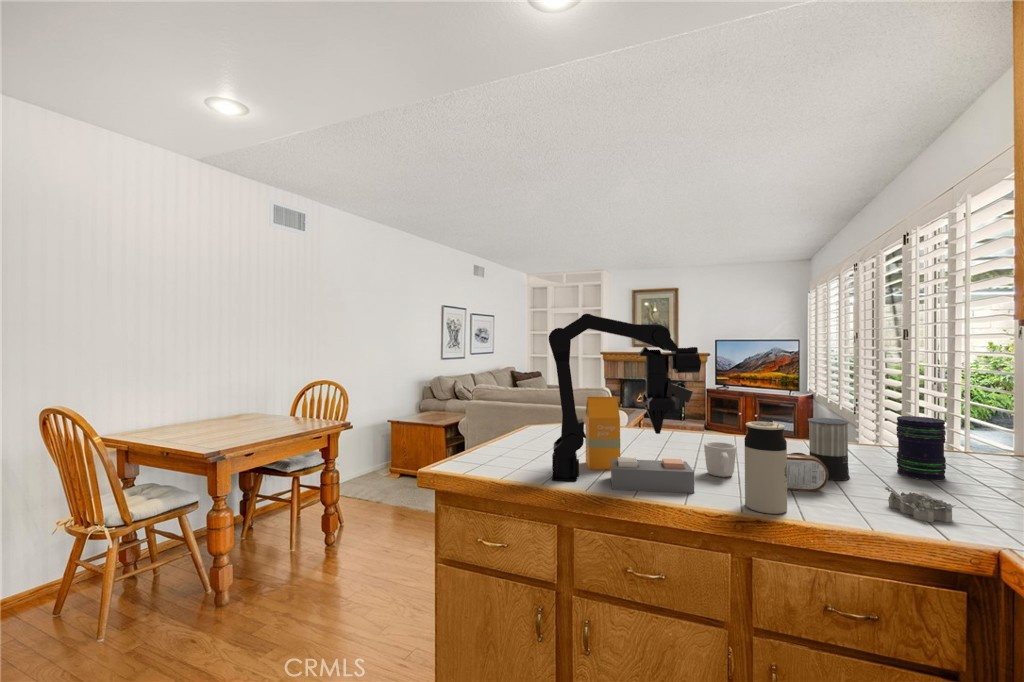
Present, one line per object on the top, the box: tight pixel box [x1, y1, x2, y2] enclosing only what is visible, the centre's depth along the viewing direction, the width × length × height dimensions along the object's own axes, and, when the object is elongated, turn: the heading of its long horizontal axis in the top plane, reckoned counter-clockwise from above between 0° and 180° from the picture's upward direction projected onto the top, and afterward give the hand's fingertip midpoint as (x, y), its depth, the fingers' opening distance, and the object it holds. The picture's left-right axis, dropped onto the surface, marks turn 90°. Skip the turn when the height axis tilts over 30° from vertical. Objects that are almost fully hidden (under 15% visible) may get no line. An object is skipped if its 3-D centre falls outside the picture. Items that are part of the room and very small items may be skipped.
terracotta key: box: [661, 457, 684, 469], centre depth 117 cm, size 5×5×4 cm
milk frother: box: [790, 417, 851, 481], centre depth 128 cm, size 14×16×15 cm
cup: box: [703, 441, 737, 478], centre depth 125 cm, size 11×8×8 cm
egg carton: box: [884, 486, 957, 523], centre depth 98 cm, size 11×8×4 cm
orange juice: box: [584, 396, 621, 470], centre depth 136 cm, size 8×9×20 cm
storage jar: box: [896, 415, 947, 481], centre depth 125 cm, size 10×10×15 cm
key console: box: [610, 459, 695, 494], centre depth 117 cm, size 19×10×5 cm, turn 80°
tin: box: [787, 453, 829, 492], centre depth 114 cm, size 15×3×8 cm, turn 77°
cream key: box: [618, 456, 638, 467], centre depth 118 cm, size 5×5×4 cm
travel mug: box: [744, 421, 788, 515], centre depth 101 cm, size 8×8×18 cm
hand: (657, 433), depth 122 cm, fingers closed
